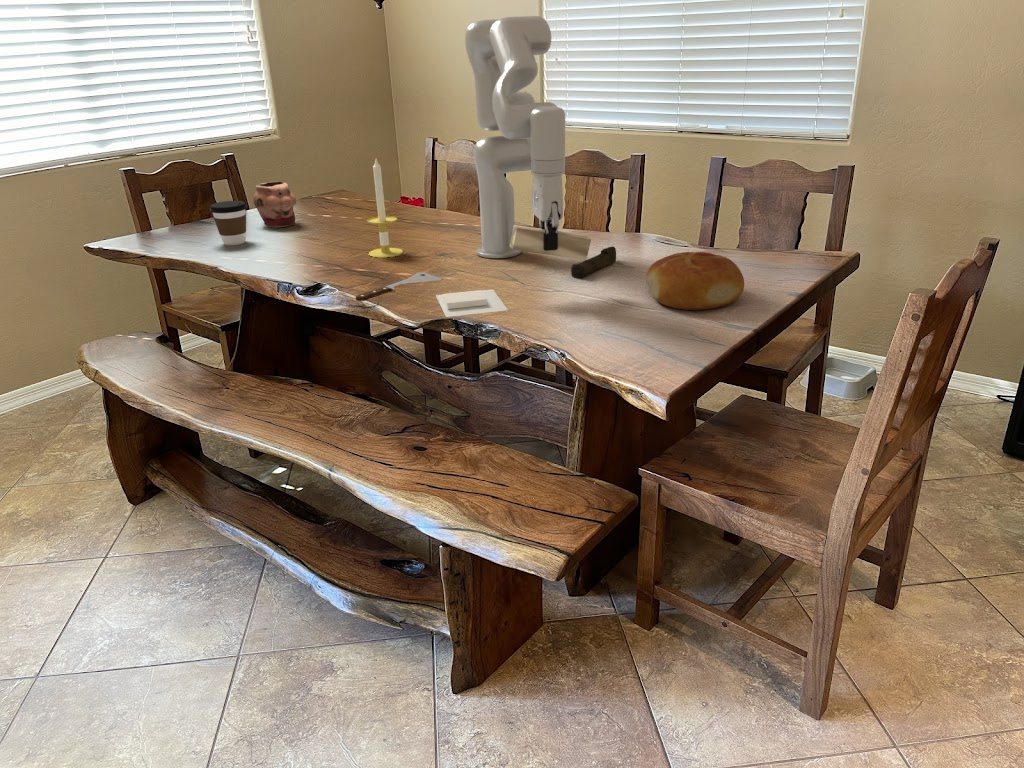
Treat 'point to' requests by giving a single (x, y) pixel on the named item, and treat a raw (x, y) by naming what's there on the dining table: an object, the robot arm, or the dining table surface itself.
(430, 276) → the kitchen cleaver
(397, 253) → the candle
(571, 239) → the beige long bar
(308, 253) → the dining table surface
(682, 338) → the dining table surface
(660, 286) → the bread
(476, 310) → the mat
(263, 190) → the decorative planter
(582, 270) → the rusty brown spike
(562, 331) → the dining table surface
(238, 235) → the coffee cup
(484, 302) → the tile
